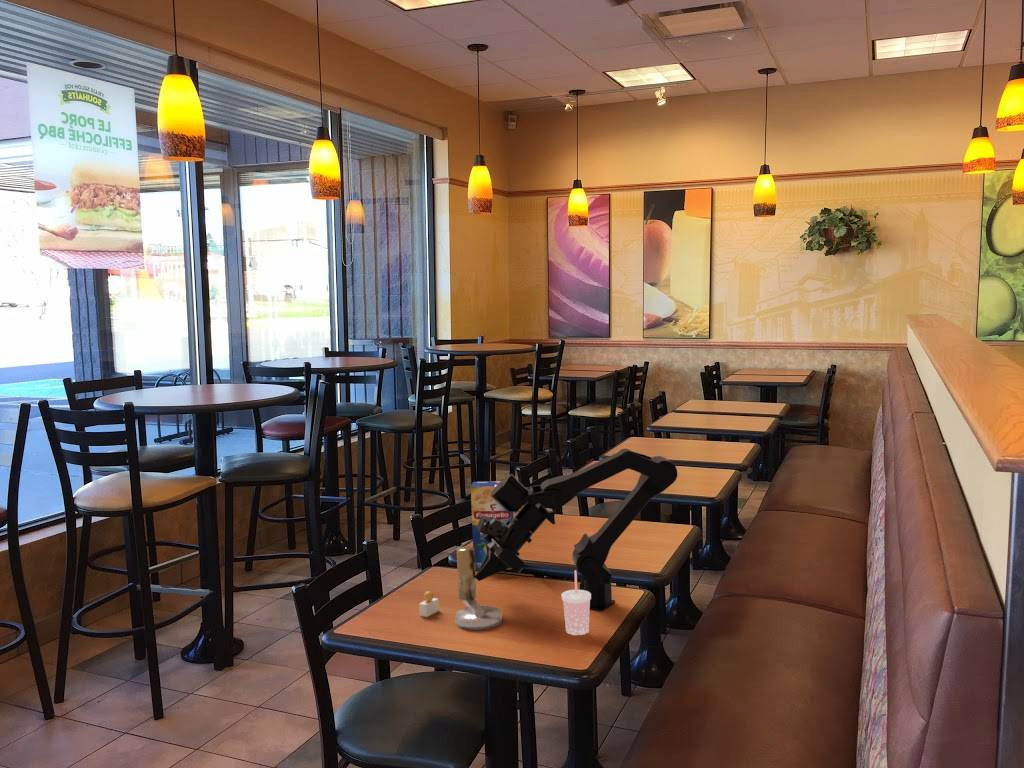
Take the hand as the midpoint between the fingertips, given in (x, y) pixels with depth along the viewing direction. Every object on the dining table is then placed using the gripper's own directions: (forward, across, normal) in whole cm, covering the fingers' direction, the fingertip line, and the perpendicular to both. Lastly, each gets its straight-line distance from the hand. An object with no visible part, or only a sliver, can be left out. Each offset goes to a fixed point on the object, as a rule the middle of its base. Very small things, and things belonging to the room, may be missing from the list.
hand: (476, 579), depth 188 cm
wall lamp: (+6, +4, +4) cm, 8 cm away
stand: (+8, +4, +4) cm, 10 cm away
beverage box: (-2, -34, +14) cm, 37 cm away
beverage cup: (-6, +18, +18) cm, 27 cm away
